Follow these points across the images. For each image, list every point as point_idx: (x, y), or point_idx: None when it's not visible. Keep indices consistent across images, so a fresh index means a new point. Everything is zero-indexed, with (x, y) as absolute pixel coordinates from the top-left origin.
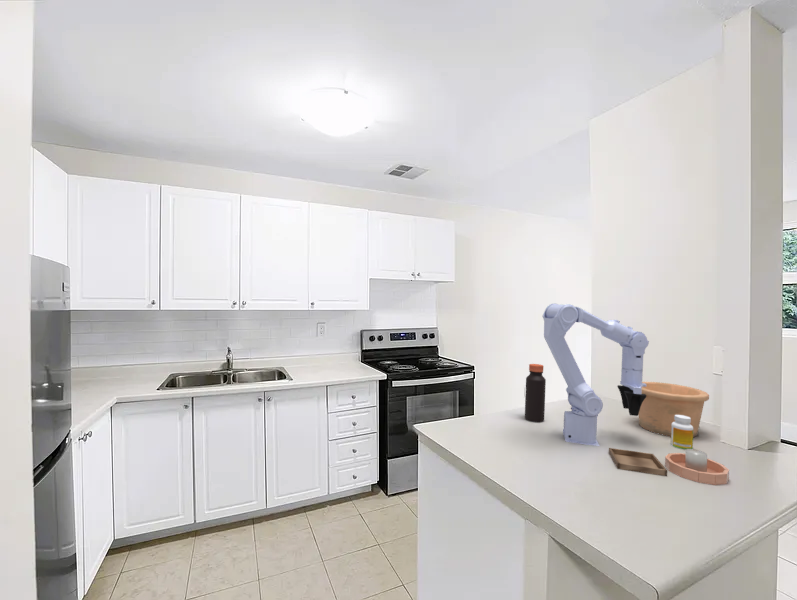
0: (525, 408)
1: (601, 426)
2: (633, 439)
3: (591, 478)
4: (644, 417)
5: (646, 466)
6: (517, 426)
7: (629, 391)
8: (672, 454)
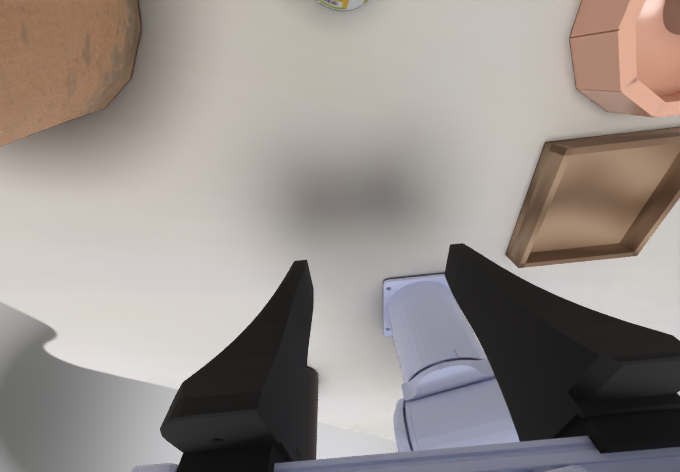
0: None
1: (231, 261)
2: (323, 175)
3: (645, 286)
4: (63, 115)
5: (616, 176)
6: (367, 387)
7: (291, 389)
8: (634, 75)
